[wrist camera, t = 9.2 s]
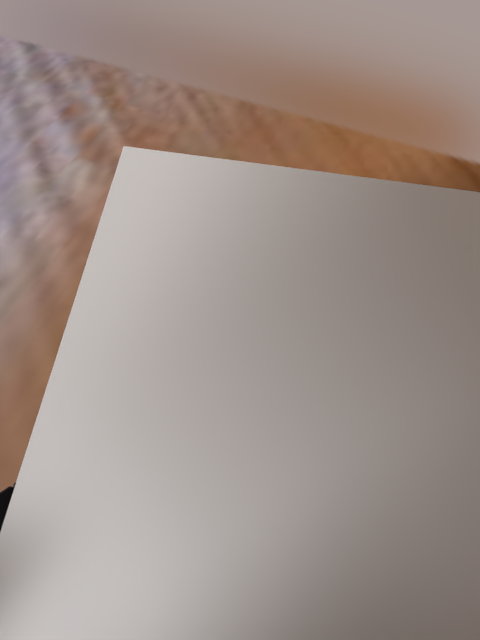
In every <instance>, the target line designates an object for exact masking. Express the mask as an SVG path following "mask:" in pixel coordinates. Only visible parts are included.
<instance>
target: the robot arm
mask: <svg viewBox="0 0 480 640" xmlns="http://www.w3.org/2000/svg"><path fill="white" fill-rule="evenodd" d="M15 485H16V483H14V486H13V487H11V486H10V487H8V488H6V489H5V490H3V491H2V492H0V531H1V528H2V525H3V522H4V519H5V516H6V513H7V510H8V506H9V503H10V500H11V497H12V494H13V491H14V488H15Z"/></svg>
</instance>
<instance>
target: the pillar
mask: <svg viewBox="0 0 480 640" xmlns="http://www.w3.org/2000/svg"><path fill="white" fill-rule="evenodd" d="M0 640H480V192H474V191H467V190H459V189H451V188H443V187H436V186H428V185H420V184H412V183H405V182H397V181H389V180H381V179H374V178H366V177H358V176H350V175H343V174H335V173H327V172H319V171H312V170H304V169H296V168H288V167H281V166H273V165H265V164H257V163H250V162H242V161H234V160H226V159H219V158H211V157H203V156H195V155H188V154H180V153H172V152H164V151H157V150H149V149H141V148H133V147H126V146H124V147H123V150H122V154H121V157H120V160H119V163H118V166H117V169H116V172H115V175H114V179H113V182H112V185H111V188H110V191H109V194H108V197H107V200H106V204H105V207H104V210H103V213H102V216H101V219H100V222H99V225H98V228H97V232H96V235H95V238H94V241H93V244H92V247H91V250H90V253H89V257H88V260H87V263H86V266H85V269H84V272H83V275H82V278H81V282H80V285H79V288H78V291H77V294H76V297H75V300H74V303H73V307H72V310H71V313H70V316H69V319H68V322H67V325H66V328H65V332H64V335H63V338H62V341H61V344H60V347H59V350H58V353H57V357H56V360H55V363H54V366H53V369H52V372H51V375H50V378H49V382H48V385H47V388H46V391H45V394H44V397H43V400H42V403H41V407H40V410H39V413H38V416H37V419H36V422H35V425H34V428H33V432H32V435H31V438H30V441H29V444H28V447H27V450H26V453H25V456H24V460H23V463H22V466H21V469H20V472H19V475H18V478H17V481H16V485H15V488H14V491H13V494H12V497H11V500H10V503H9V506H8V510H7V513H6V516H5V519H4V522H3V525H2V528H1V531H0Z"/></svg>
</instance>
